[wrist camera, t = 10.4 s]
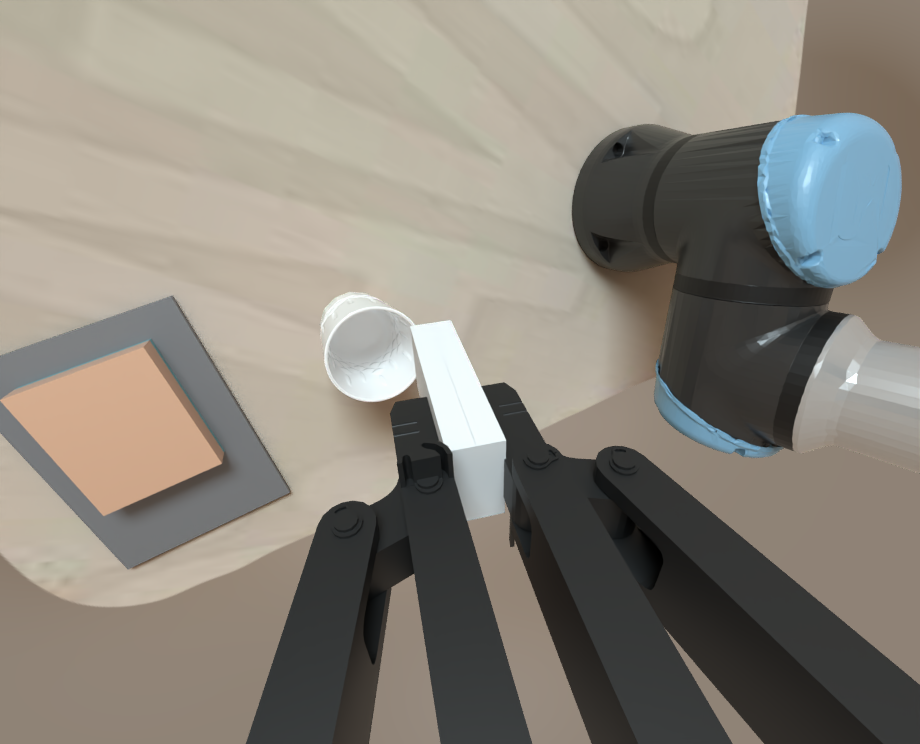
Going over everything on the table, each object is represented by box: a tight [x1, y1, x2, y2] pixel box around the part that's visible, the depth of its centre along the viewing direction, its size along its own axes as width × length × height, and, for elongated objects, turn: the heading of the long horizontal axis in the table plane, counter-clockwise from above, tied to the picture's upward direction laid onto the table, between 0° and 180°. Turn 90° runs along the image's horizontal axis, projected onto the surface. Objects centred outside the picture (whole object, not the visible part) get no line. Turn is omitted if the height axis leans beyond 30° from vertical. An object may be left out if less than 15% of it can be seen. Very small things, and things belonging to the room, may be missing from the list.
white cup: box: [320, 292, 416, 402], centre depth 39 cm, size 8×8×10 cm
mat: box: [0, 296, 290, 569], centre depth 39 cm, size 22×16×1 cm
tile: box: [0, 339, 225, 516], centre depth 37 cm, size 2×10×12 cm
